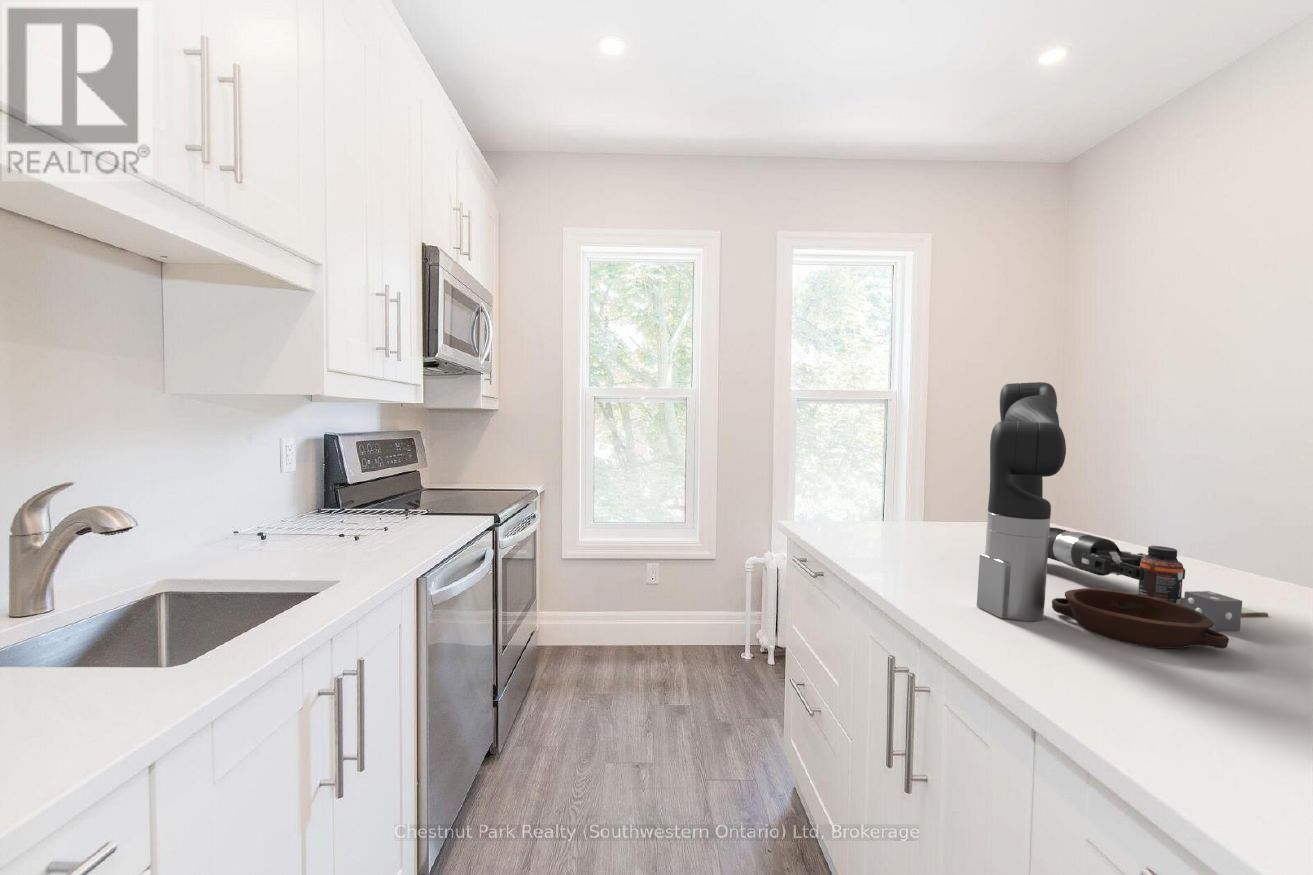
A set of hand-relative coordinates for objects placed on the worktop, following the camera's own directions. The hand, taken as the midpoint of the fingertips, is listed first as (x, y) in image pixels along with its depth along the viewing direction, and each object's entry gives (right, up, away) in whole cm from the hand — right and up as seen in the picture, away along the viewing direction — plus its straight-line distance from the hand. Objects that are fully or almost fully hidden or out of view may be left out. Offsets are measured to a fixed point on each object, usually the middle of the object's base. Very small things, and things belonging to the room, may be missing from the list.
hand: (1163, 574), depth 105 cm
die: (+2, -7, -7) cm, 10 cm away
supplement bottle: (0, -7, +1) cm, 7 cm away
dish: (-16, -7, -12) cm, 21 cm away
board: (+7, -7, +2) cm, 10 cm away
